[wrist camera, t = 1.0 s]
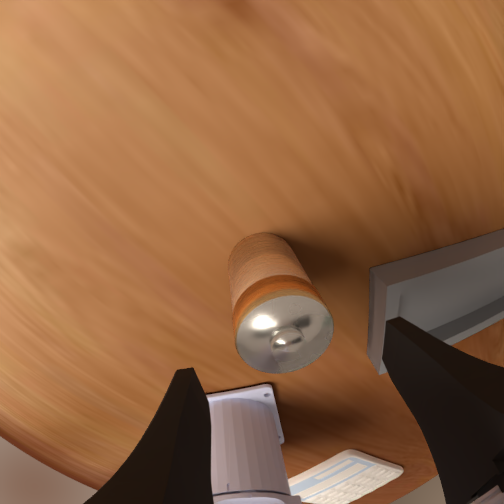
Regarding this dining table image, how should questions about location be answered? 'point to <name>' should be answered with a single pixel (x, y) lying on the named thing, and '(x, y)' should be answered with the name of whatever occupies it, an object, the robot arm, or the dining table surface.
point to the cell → (275, 307)
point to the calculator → (343, 478)
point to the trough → (439, 292)
